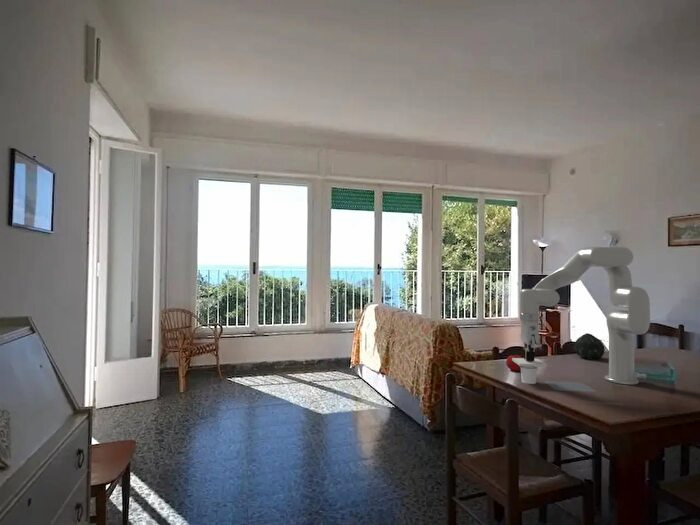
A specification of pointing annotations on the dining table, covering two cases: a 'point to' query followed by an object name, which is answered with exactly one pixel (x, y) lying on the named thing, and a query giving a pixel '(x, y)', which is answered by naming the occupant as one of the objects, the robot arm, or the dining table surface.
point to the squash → (589, 347)
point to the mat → (569, 386)
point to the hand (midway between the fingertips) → (529, 359)
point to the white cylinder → (528, 374)
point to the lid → (529, 362)
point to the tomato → (513, 363)
